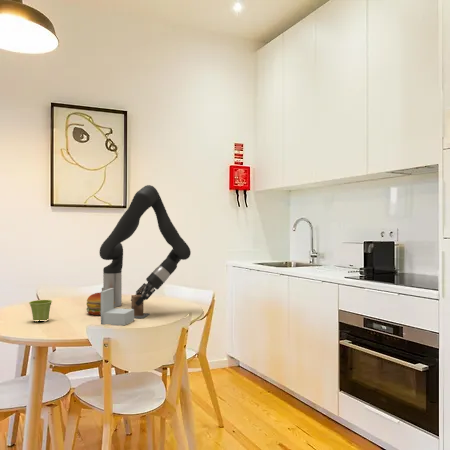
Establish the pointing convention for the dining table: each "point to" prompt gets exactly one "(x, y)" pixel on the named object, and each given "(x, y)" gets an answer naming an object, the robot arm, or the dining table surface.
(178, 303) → the dining table surface
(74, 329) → the dining table surface
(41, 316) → the plant pot
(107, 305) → the ledge
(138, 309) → the walnut block
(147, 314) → the mat
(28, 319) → the dining table surface
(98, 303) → the burger
